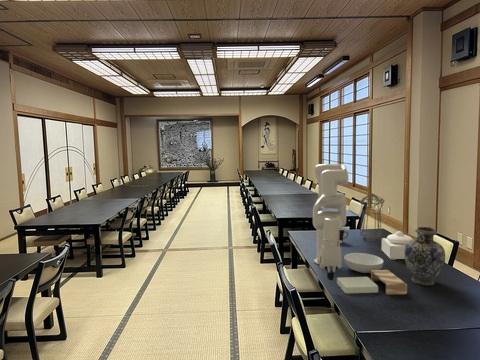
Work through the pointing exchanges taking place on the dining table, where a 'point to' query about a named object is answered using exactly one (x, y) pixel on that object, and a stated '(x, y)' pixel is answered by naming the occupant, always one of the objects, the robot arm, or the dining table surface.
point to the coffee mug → (341, 233)
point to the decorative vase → (424, 257)
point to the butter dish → (395, 245)
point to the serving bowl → (363, 262)
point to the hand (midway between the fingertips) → (330, 279)
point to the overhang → (389, 281)
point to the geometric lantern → (373, 213)
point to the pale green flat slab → (357, 285)
